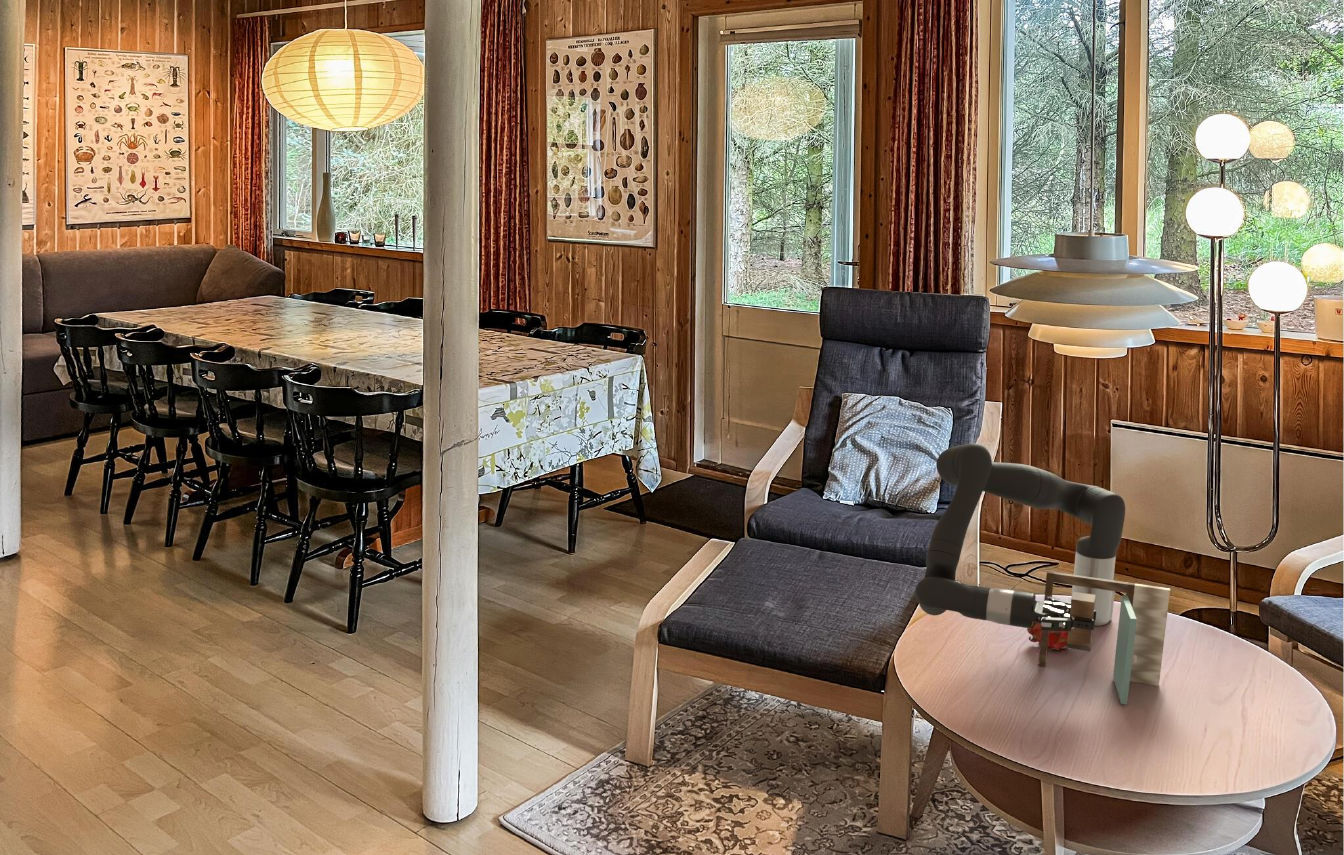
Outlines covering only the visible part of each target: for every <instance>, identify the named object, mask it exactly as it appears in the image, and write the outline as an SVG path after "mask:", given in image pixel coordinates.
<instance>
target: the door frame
mask: <svg viewBox="0 0 1344 855" xmlns="http://www.w3.org/2000/svg"><path fill="white" fill-rule="evenodd" d="M1045 576H1046V577H1045V588H1044V598H1043V599H1044V600H1043V601H1047V598H1048V597H1053V591H1054V583H1056V584H1064V585H1070V586H1073V585H1075V586H1082V587H1089V588H1096V589H1103V590H1109V591H1115V593H1116V592H1117V593H1123V594H1125V596H1128V598H1129V601H1130V603H1131V606H1132V608H1133V611H1134V614H1135V616H1136V619H1137V620H1136V629H1135V638H1134V647H1133V655H1137V662H1136V663H1132V665H1131V674H1130V682H1132V683H1133V682H1134V683H1138V684H1144V685H1145V684H1146V685H1149V686H1151V685H1152V686H1157V687H1159V685H1160V678H1161V671H1162V670H1161V669H1162V664H1163V663H1162V661H1163V653H1164V646H1165V645H1164V644H1165V637H1166V629H1167V620H1168V619H1167V618H1168V611H1169V603H1170V602H1169V601H1170V594H1171V592H1170V591H1171V588H1168V587H1161V586H1156V585H1155V586H1154V585H1148V584H1141V583H1133V582H1126V581H1121V580H1120V581H1119V580H1114V579H1113V580H1107V579H1100V578H1093V577H1086V576H1079V575H1074V574H1071V573H1064V572H1057V571H1050V570H1046V575H1045ZM1048 635H1049V630H1041V641H1040V647H1039V654H1038V663H1037V665H1038V666H1041V667H1046V664H1047V657H1048V656H1047V655H1048V651H1047V646H1048Z"/></svg>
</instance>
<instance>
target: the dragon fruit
mask: <svg viewBox="0 0 1344 855" xmlns="http://www.w3.org/2000/svg"><path fill="white" fill-rule="evenodd" d="M1026 631H1027V633H1028V634H1029V635H1030V636H1029V637H1028V641H1030V642H1031V643H1038V647H1039V648H1040V641H1041V624H1039V623H1037V622H1033V625H1032V627H1031V628H1026ZM1067 638H1068V631H1049V635H1048V646H1047V652H1050V651H1051V650H1057V651H1059V652H1065V651H1069V648H1066V642H1067Z"/></svg>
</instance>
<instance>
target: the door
mask: <svg viewBox="0 0 1344 855" xmlns="http://www.w3.org/2000/svg"><path fill="white" fill-rule="evenodd" d="M1119 607H1120V610H1119V618H1118V628H1117V636H1116V637H1117V638H1116V646H1115V652H1114V653H1115V656H1114V665H1113V671H1112V672H1113V673H1112V674H1113V675H1112V678H1113V681H1114V682H1113V683H1114V684H1115V687H1116V688H1115V689H1116V692H1117V695H1118V698H1119V701H1120V704H1121V705H1128V701H1129V691H1130V690H1129V689H1130V684H1131V681H1130V674H1131V665H1132V663H1136V662H1137V655H1133V647H1134V638H1135V629H1136V620H1137V619H1136V616H1135V614H1134V611H1133V608H1132V606H1131V603H1130V601H1129V598H1128V596H1126V595H1122V594H1121V600H1120V606H1119Z"/></svg>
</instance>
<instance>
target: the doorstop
mask: <svg viewBox="0 0 1344 855" xmlns="http://www.w3.org/2000/svg"><path fill="white" fill-rule="evenodd" d="M1071 597H1072V598H1071V599H1070V602H1071V607H1070V615H1072V616H1075V617H1082V618H1089V619H1093V615H1094V605H1095V595H1093V594H1086V593H1079V592H1073V594H1072V593H1071ZM1092 636H1093V630H1088V629H1081V628H1074V629H1071V631H1068V638H1067V642H1066V647H1065V648H1068V649H1072V650H1078V651H1083V652H1091V647H1092V643H1093V642H1092V640H1093V639H1092Z"/></svg>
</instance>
